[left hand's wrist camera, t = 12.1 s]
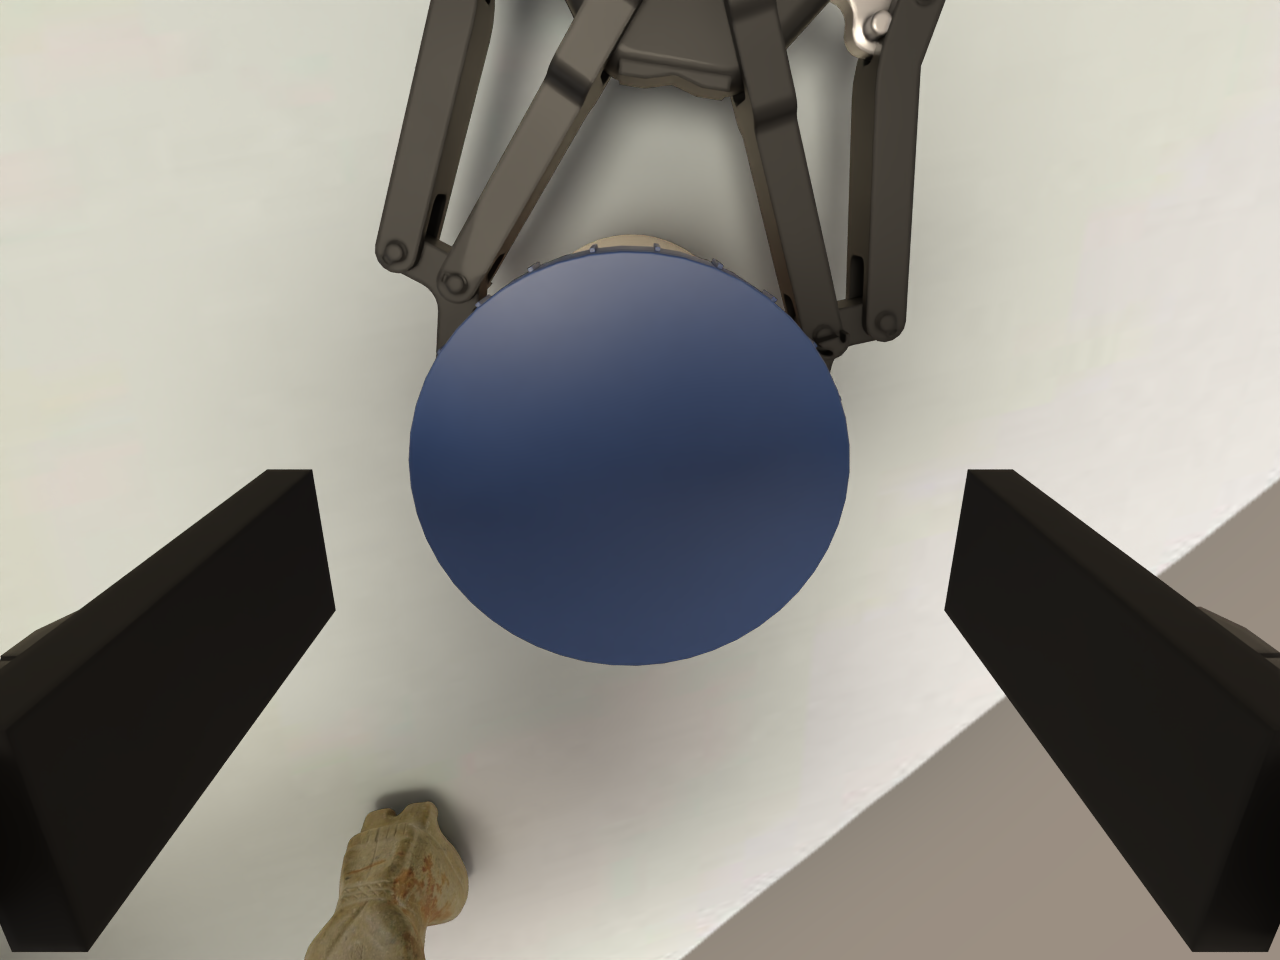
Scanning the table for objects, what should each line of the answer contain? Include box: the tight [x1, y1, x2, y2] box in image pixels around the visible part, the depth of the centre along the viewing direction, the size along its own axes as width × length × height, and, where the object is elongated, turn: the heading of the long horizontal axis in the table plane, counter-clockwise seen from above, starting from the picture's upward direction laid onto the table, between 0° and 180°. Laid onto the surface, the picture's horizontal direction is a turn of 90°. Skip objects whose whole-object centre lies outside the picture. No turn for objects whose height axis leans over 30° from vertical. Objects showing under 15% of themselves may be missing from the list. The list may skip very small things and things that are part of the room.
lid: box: [409, 243, 849, 666], centre depth 17 cm, size 10×10×2 cm
